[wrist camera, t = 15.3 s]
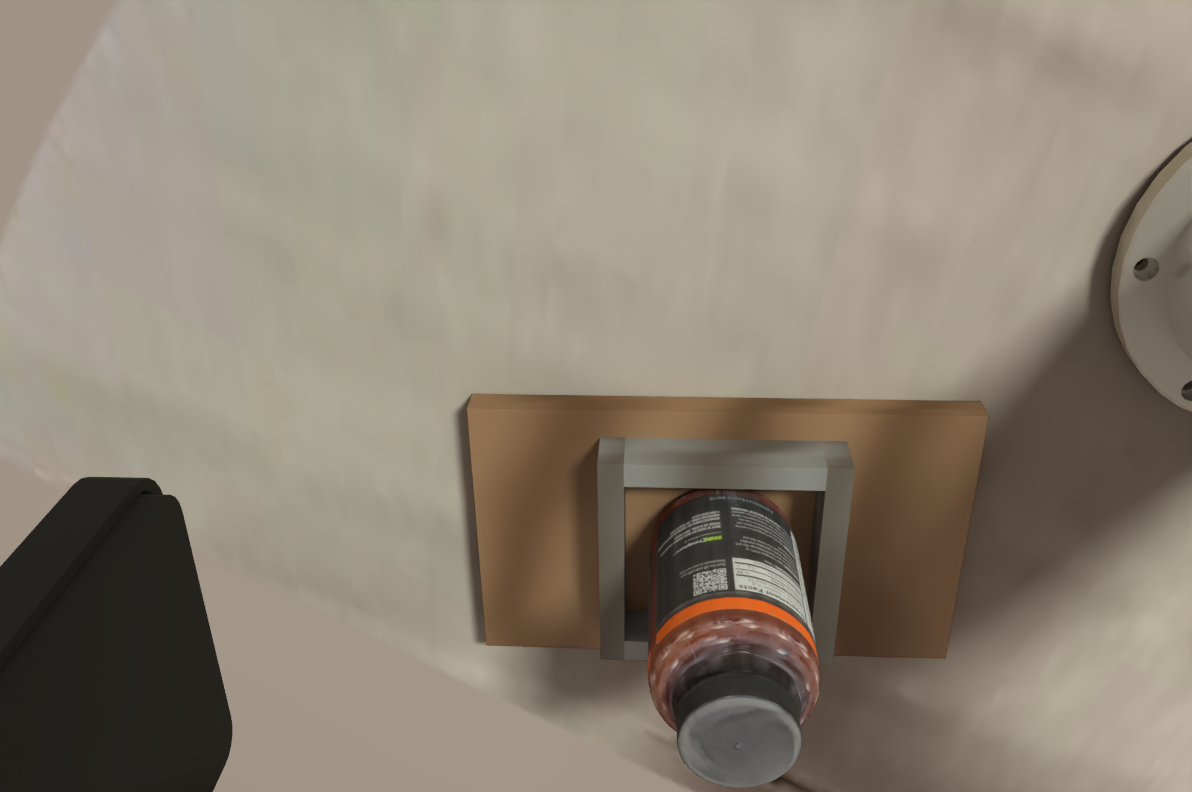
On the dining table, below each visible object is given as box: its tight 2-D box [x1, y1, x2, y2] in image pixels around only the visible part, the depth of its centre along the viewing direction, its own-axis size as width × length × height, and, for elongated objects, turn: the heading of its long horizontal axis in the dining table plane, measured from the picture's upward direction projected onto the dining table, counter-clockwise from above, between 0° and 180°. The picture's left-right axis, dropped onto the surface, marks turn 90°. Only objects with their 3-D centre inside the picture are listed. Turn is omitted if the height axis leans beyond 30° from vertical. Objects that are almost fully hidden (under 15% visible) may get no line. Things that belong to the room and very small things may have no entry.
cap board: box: [467, 394, 989, 666], centre depth 44 cm, size 20×12×3 cm, turn 91°
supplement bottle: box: [648, 488, 820, 788], centre depth 39 cm, size 6×6×11 cm
